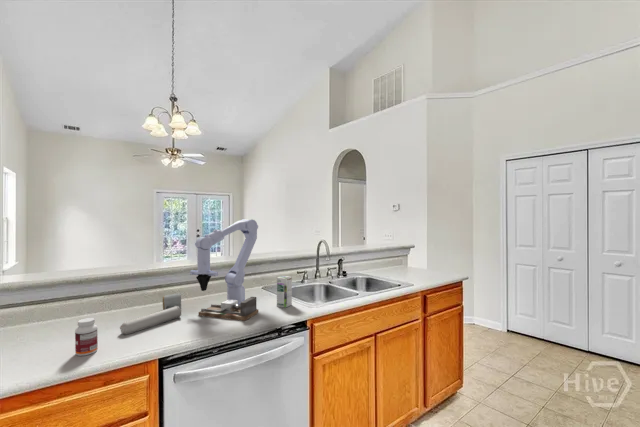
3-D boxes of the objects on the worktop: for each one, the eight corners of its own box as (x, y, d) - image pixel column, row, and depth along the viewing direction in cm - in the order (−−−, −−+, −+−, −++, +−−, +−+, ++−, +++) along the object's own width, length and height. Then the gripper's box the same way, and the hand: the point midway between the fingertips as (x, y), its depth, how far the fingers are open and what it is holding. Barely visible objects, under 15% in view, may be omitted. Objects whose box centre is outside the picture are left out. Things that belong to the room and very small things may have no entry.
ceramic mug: (163, 308, 162) (162, 293, 161) (181, 306, 165) (181, 291, 165) (162, 315, 152) (162, 298, 152) (181, 313, 155) (181, 296, 155)
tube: (126, 327, 126) (182, 309, 148) (118, 320, 128) (175, 303, 150) (123, 339, 127) (180, 319, 148) (116, 332, 129) (172, 314, 151)
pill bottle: (77, 350, 114) (76, 318, 113) (98, 347, 116) (98, 315, 116) (73, 357, 108) (73, 324, 108) (96, 354, 111) (96, 321, 111)
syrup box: (276, 306, 165) (276, 277, 165) (282, 303, 170) (282, 275, 170) (285, 307, 163) (285, 278, 162) (292, 304, 168) (292, 276, 168)
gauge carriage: (217, 313, 148) (217, 304, 148) (228, 307, 157) (228, 299, 157) (232, 315, 146) (232, 306, 146) (243, 309, 154) (243, 300, 154)
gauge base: (198, 315, 151) (198, 299, 151) (214, 308, 162) (214, 292, 162) (245, 320, 144) (245, 303, 144) (258, 312, 155) (258, 296, 155)
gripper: (185, 262, 158) (185, 291, 158) (211, 264, 153) (211, 293, 153) (195, 260, 164) (195, 287, 164) (220, 261, 160) (220, 289, 160)
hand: (203, 290), depth 159 cm, fingers closed
